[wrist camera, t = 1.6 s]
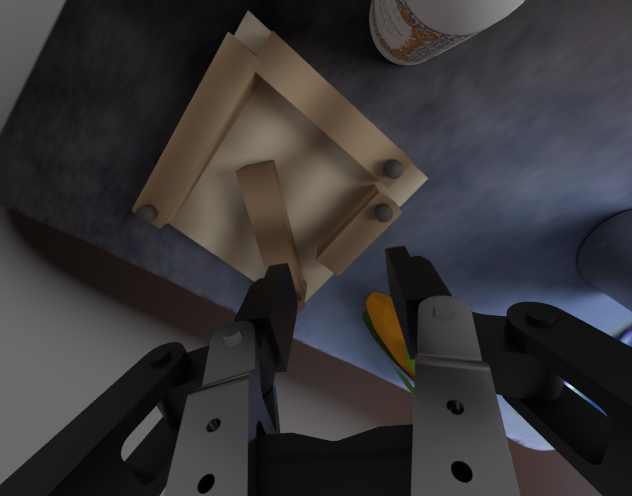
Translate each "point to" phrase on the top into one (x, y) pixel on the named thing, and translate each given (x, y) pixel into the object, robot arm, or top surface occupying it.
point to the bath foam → (430, 25)
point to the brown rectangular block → (271, 220)
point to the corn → (389, 333)
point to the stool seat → (277, 161)
